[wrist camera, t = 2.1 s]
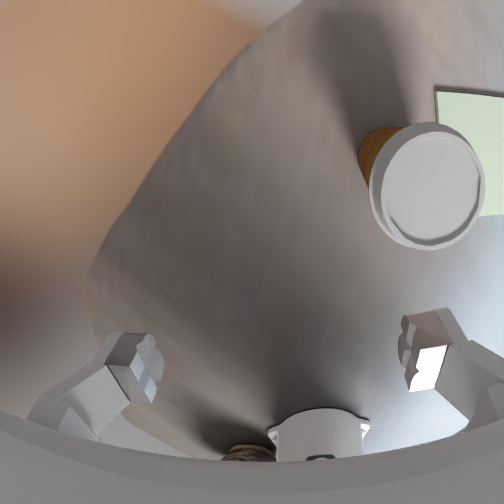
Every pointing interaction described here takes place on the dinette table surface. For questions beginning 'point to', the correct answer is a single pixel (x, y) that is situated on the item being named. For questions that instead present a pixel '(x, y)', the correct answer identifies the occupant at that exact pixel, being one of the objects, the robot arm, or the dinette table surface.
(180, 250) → the dinette table surface
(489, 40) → the dinette table surface
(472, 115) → the mat
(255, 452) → the ceramic jug
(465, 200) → the disposable coffee cup
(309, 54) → the dinette table surface
